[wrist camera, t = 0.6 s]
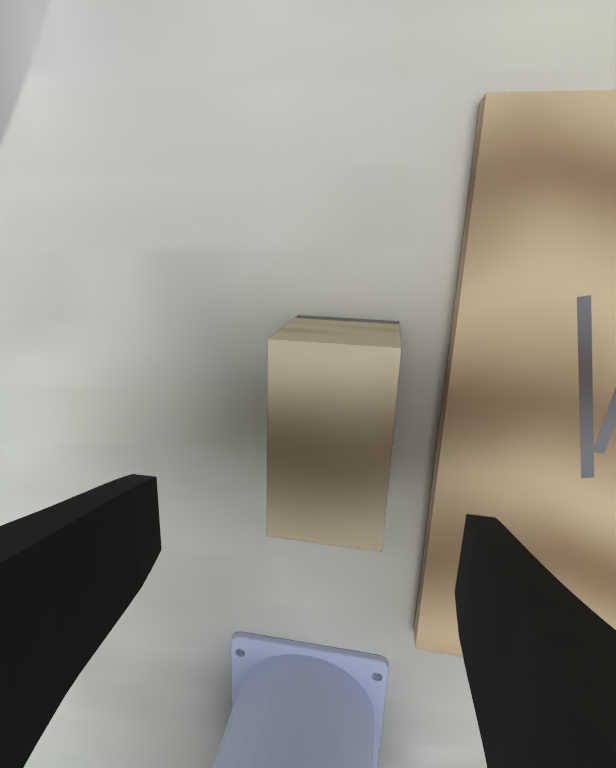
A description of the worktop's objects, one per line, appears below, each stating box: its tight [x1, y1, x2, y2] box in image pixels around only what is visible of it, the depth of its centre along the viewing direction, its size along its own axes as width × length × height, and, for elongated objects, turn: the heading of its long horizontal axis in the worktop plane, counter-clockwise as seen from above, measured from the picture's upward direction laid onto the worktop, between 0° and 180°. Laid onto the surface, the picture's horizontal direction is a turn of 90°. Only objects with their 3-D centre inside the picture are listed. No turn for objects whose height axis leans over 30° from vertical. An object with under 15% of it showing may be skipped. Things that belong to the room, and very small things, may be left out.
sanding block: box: [266, 315, 401, 552], centre depth 17 cm, size 7×4×5 cm, turn 178°
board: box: [414, 91, 616, 657], centre depth 17 cm, size 22×12×1 cm, turn 178°
